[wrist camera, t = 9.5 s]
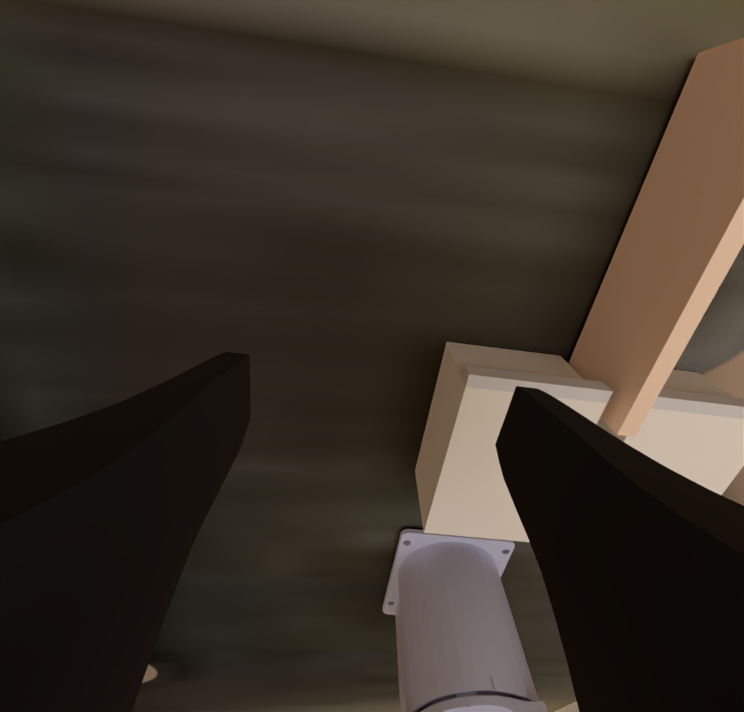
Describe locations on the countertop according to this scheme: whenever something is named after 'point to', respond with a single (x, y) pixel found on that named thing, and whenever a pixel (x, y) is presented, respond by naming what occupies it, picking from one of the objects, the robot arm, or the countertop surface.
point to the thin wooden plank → (671, 244)
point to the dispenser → (589, 398)
